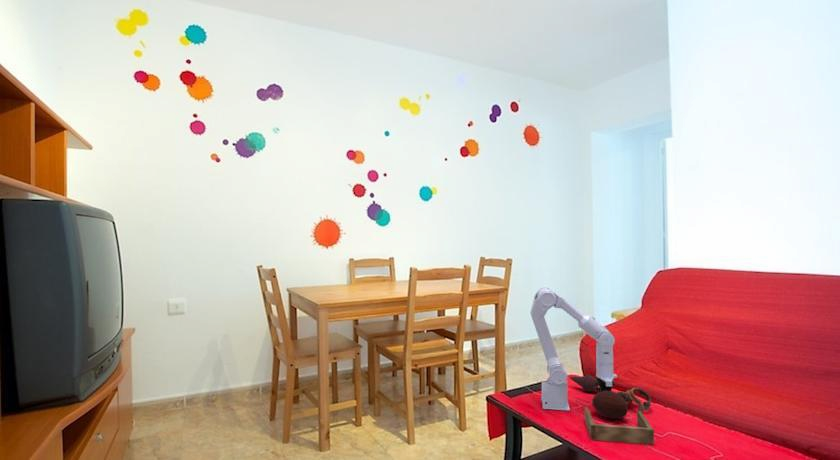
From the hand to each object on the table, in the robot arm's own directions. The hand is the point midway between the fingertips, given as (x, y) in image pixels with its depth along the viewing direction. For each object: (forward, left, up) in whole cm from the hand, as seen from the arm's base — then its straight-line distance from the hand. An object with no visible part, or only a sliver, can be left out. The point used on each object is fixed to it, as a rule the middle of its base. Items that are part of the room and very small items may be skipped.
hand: (605, 399), depth 159 cm
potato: (0, -8, -4) cm, 9 cm away
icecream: (-3, +17, -4) cm, 18 cm away
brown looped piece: (+10, +2, -4) cm, 11 cm away
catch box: (0, -19, -3) cm, 19 cm away
